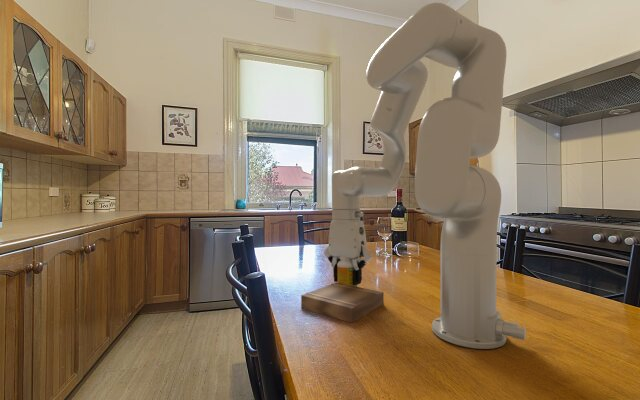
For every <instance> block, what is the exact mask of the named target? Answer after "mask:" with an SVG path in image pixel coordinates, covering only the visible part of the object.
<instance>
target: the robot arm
mask: <svg viewBox="0 0 640 400" xmlns="http://www.w3.org/2000/svg"><path fill="white" fill-rule="evenodd" d="M423 58H427V59H429V60H431V61H433V62H436V63H438V64H441V65H443V66H445V67H449V68H453V69H456V70H457V71H456V73H455V75H454V78H453V81H452V84H451V94H450V95H451V97H445V98H442V99H440V100H438V101H436V102H435V103H433V104H432V105H431V106H430V107H429V108H428V109H427V110H426V112H425V113H424V115H423V117H422V119H421V121H420V125H419V128H418V133H417V144H416V155H415V169H414V170H415V171H414V185H413V186H414V187H413V188H414V198H415V201H416V203H417V205H418V207H419V208H420V210H421V211H422V212H424V213H425V214H426V215H427V216H429V217H432V218H436V219H444V220H443V223H442V228H441V233H440V316H439V317H437V318H435V319H434V320H433V321H432V323H431V329H432V332H433V333H434V334H435V336H437V337H439V338H440V339H442V340H443V341H445V342H448V343H451V344H452V345H456V346H459V347H464V348H469V349H475V350H476V349H477V350H478V349H479V350H490V349H497V348H500V347H502V346H504V345H505V344H506V343H507V337H512V338H513V339H518V340H522V341H526V335H527V333H526V332H527V330H526V328H525V327H521V326H520V323H518V322H513V321H506V320H505V319H504V318H502V317H501V315H502V314H501V311H500V310H497V254H498V253H497V252H498V251H497V249H498V244H497V243H498V241H497V239H498V225H499V224H498V223H499V215H500V210H501V205H502V189H501V185H500V183H499V181H498V179H497V178H496V176H495V175H494V174H492V172H491V171H489V170H487V169H486V168H483V167H480V166H475V165H470V164H471V163H470V162H471V159H478V158H482V157H486V156H487V155H489V154H490V153H491V152H493V150H494V149H495V147H496V146H497V144H498V142H499V139H500V132H501V131H500V130H501V121H502V108H503V107H502V106H503V99H504V98H503V97H504V82H505V74H506V67H507V66H506V65H507V64H506V63H507V46H506V43H505V41H504V38H502V36H501V35H500V34H499V33H498V32H496V31H495V30H492V29H489V28H486V27H484V26H482V25H480V24H477V23H475V22H474V21H472V20H471V19H470V18H468V17H466V16H464V15H463V14H461V13H459V12H458V11H457V10H455V9H454V8H452V7H451V6H449V5H448V4H445V3H442V2H432V3H428V4H426V5H424V6H422V7H421V8H418V10H417V11H415V12H414V13H413V14H412V15H410V17H408V19H406V21H404V23H403V24H402V25H400V26H399V28H398V29H396V30H395V31H394V32H393V33H392V34H391V35H390V36H389V37H388V38H386V40H385V41H384V42H383V43H382V44H381V45H380V46H379V47H378V48H377V50H376V51H375V53H374V54H373V55H372V57H371V59H370V60H369V62H368V66H367V69H366V76H365V77H366V80H367V83H368V85H369V86H370V87H371V88H372V89H375V90H378V91H380V95H379V98H378V101H377V103H376V106H375V108H374V110H373V111H374V112H373V114H372V116H371V119H370V127H371V128H372V130H373V131H374V132H376V133H377V134H378V136H379V137H380V138H381V140H382V143H383V156H382V159H381V161H380V164H379V166H378V167H374V166H373V167H371V166H353V167H351V168H350V167H349V168H348V169H343V170H342V169H341V170H336V171H334V172H333V173H332V174H331V199H332V200H331V210H332V212H331V213H332V215H331V216H332V217H331V218H332V220H330V223H329V224H330V225H329V232H328V246H327V248H326V249H325V250H324V252H323V254H324V256H325V257H326V258H327V259H328V262H329V263H330V264H331V268H332V267H333V270H332V271H333V282H334V283H338V276H337V263H338V262H339V261H340V260H341V259H340V257H345V258H349V259H352V262H353V265H354V269H355V270H353V285H357V286H358V285H359V284H362V281H363V280H362V278H363V276H362V275H363V273H362V269H364V267H365V266H366V265H367V263H369V262H370V261H371V260H372V258H373V255H372V254H371V253H370V251H369V250H368V244H367V243H368V241H367V235H366V234H367V233H366V229H365V225H364V221H363V220H361V218H362V217H364V214H365V213H364V211H362V210H361V209H360V208H361V205H360V203H361V201H360V199H361V198H363V197H367V198H368V197H384V196H387V195H390V194H391V192H392V191H393V190H394V189H395V188H396V186H397V184H398V182H399V180H400V179H401V176H402V173H403V171H404V168H405V165H406V158H407V157H406V156H407V155H406V153H407V151H406V150H407V147H406V141H405V133H406V131H407V128H408V126H409V123H411V119H412V116H413V114H414V112H415V110H416V108H417V105H418V103H419V101H420V98H421V95H422V94H423V91H424V88H425V87H426V83H427V81H428V75H429V71H428V68H427V66H426V65H425V63H423V62H422V61H421V60H422V59H423Z"/></svg>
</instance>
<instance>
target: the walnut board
mask: <svg viewBox="0 0 640 400" xmlns="http://www.w3.org/2000/svg"><path fill="white" fill-rule="evenodd" d="M384 294H385V293H384V291H379V290H375V289H371V288H364V287H360V286H357V287H356V286H351V285H346V284H341V283H338V282H334V283H331V284H329V285H326V286H322V287H320V288H317V289H314V290H312V291H310V292H305V293H303V294H301V296H300V298H301V303H300V304H301V305H300V307H301V309H303V310H307V311H310V312H314V313H316V314H320V315H323V316H327V317H330V318H333V319H338V320H341V321H344V322H348V323H354V322H356V321H358V320H359V319H361V318H363V317H364V316H367V315H368V314H370V313H371V312H373V311H375V310H377V309H379V308H380V307H382V306H384V305H385V303H384Z"/></svg>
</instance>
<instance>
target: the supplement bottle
mask: <svg viewBox="0 0 640 400" xmlns="http://www.w3.org/2000/svg"><path fill="white" fill-rule="evenodd" d="M340 259H341V260H340V261H339V262H338V263H337V276H338V282H337V283H341V284H346V285H351V286H356V287H358V285H353V270H355V269H354V265H353V262H352V259H349V258H345V257H340Z"/></svg>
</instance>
